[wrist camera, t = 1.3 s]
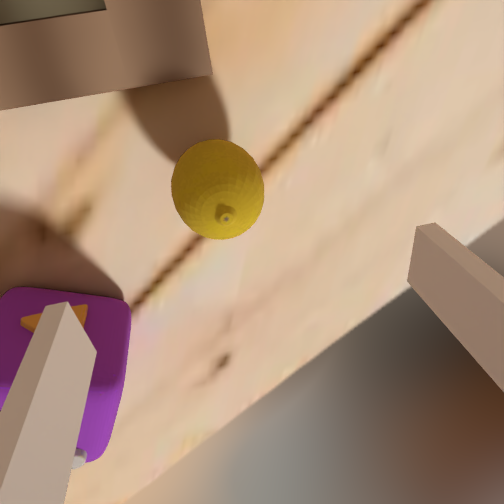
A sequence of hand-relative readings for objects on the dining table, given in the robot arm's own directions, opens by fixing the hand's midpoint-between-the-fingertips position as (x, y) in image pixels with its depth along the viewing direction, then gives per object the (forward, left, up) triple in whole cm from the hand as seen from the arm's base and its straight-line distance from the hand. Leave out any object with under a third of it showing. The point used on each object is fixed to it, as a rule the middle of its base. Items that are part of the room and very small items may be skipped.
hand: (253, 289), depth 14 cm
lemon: (0, 0, -14) cm, 14 cm away
